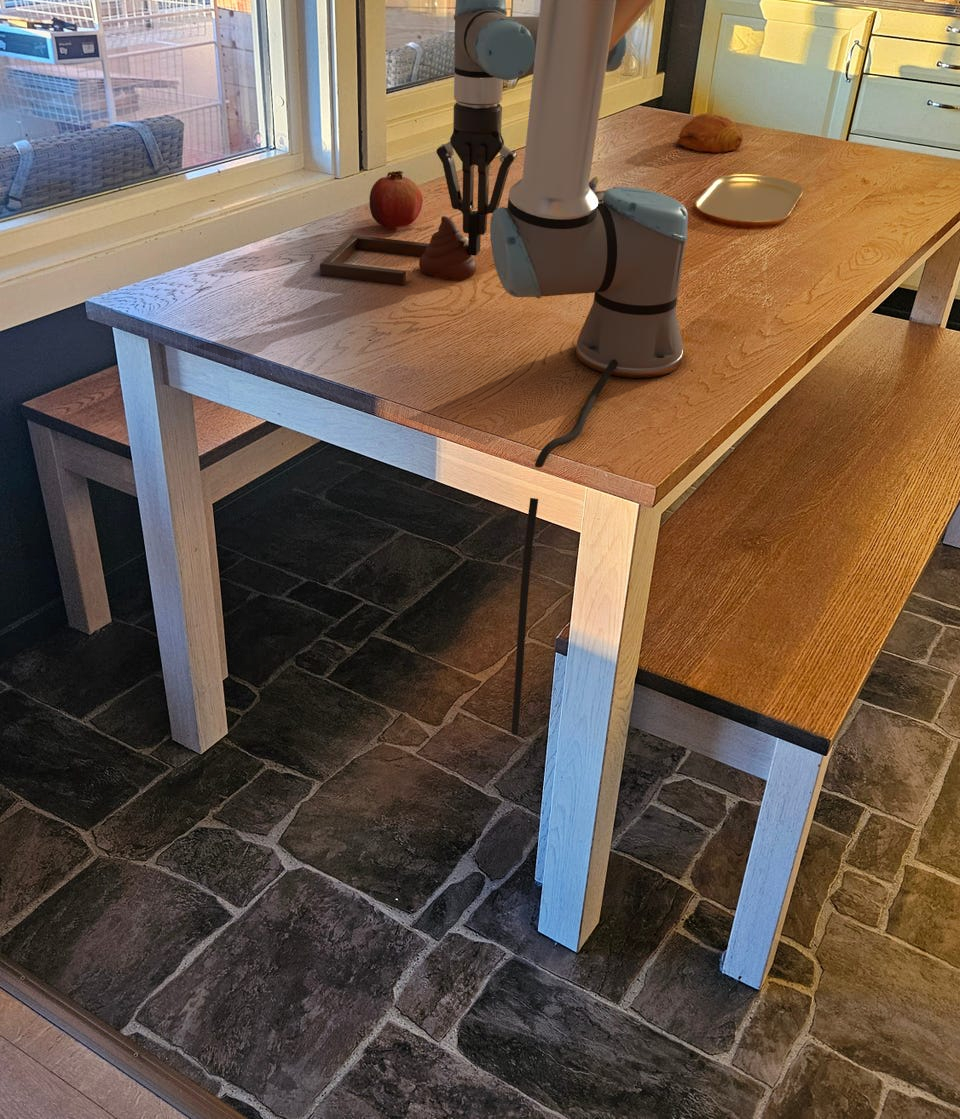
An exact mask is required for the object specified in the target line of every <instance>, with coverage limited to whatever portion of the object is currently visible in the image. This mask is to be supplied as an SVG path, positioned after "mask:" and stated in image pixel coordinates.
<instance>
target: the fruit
mask: <svg viewBox="0 0 960 1119" xmlns="http://www.w3.org/2000/svg"><path fill="white" fill-rule="evenodd" d="M404 173H405V172H404V171H401V170H398V171H388V173H387V174H386V176H383V177H380V178H379V179H378V180H376V181H375V182H374V184H373V185H372V187H371V189H370V192H369V211H370V214H371V217H372V218H373V219H374V221H375V222H376V223H377V224H379V225H380V226H381V227H385V228H403V227H407V226H408V227H409V225H412V224H413V223H415V221H416V220H417V219H418V217H419V215H420V213H421V211H422V207H423V202H424V200H423V199H424V198H423V194H422V192H421V189H420V188H419V187H418V186H417V184H416V183H415V182H414V181H413V180H411V179H410V178H408V177H407V176H406V177H405V176H403V174H404Z"/></svg>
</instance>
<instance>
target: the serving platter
mask: <svg viewBox="0 0 960 1119" xmlns="http://www.w3.org/2000/svg"><path fill="white" fill-rule="evenodd" d="M803 193H804V189H803V188H802V187H801V185H799V184H797V183H795V182H792V181H790V180H787V179H784V178H779V177H775V176H771V175H770V176H769V175H762V174H745V173H743V174H741V173H740V174H728V175H722V176H720V177H717V178H715V179H714V180H713V181H712V182H711V183H710V185H708V187H707V188H706V189H705V190H704V191H703V192H702V193H701V194H700V195H699V197H698V198H697V199H696V200H695V202H694V206H695V208H696V210H697V212H699V213H700V214H701V215H702V216H704V217H706V218H707V219H709V220H711V221H715V222H718V223H721V224H725V225H731V226H735V227H736V226H738V227H747V228H748V227H749V228H750V227H753V228H754V227H755V228H757V227H758V228H759V227H766V226H767V227H768V226H774V225H776V224H779V223H780V224H781V223H782V222H783V221H785V220H787V219H788V218H789V216H790V215H791V213H792V212H793V210H794V209H795V207H796V205H797V204H798V202H799V200H800V199H801V197H802V196H803Z"/></svg>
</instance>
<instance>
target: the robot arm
mask: <svg viewBox="0 0 960 1119" xmlns="http://www.w3.org/2000/svg"><path fill="white" fill-rule="evenodd" d="M654 2H655V0H540V5H539V14H538V16H535V15H534V16H529V15H528V16H527V15H526V16H507V15H508V11H507V0H455V6H454V15H453V20H454V63H453V64H454V65H453V66H454V70H453V71H454V72H453V77H454V78H453V100H454V101H455V103H454V105H453V122H452V123H453V124H452V126H453V128H452V129H453V131H452V134H451V136H450V138H449V141H448V142H447V143H444V144H443V143H442V144H441V145H440V146H439V147H437V149H436V156H438V158H439V160H440V162H441V163H442V168H443V171H444V172H443V173H444V176H445V182H446V185H447V190H448V196H449V199H450V204H451V208H452V209H453V210H458V211H460V212H461V213H462V232H463V233H464V234H468V235H467V236H468V237H467V238H468V255H471V256H475V257H477V256H478V254H479V253H480V252H481V242H482V241H481V239H482V238H481V237H482V236H484V235H485V234H486V233H487V229H488V214H491V216H490V221H489V222H490V223H489V235H490V236H489V237H490V246H491V251H492V258H493V262H494V266H495V270H496V274H497V277H498V280H499V281H500V284H501V286H502V288H503V289H504V290H505V292H506V293H507V294H508V295H510V296H512V297H514V298H536V299H541V298H542V297H554V296H566V295H567V296H568V295H582V294H594V295H593V302H592V305H591V308H590V309H589V312H588V313H587V316H586V318H585V321H584V323H583V325H582V327H581V329H580V332H579V334H578V337H577V341H576V351H575V352H576V357H577V359H578V360H579V361H580V362H581V363H582V364H584V365H585V366H587V367H588V368H590V369H592V370H594V371H597V372H600V373H602V374H601V376H600V378H599V379H598V380H597V383H596V384H595V386H594V387H593V389H592V390H591V392H590V394H589V396H587V397H588V398H587V400H586V401H585V403H584V405H583V408H581V411H580V413H579V415H578V418H577V421H576V423H575V425H574V427H573V428H572V429H571V431H570V432H568V433H567V434H565V435H562V436H558V437H556V438H554V439H552V440H551V441H549V442H548V443H547V444H545V446H544V447H543V448H542V450H541V451H540V452H539V454H538V456H537V458H536V461H535V463H534V466H535V468H542V467H544V465H545V462H546V460H547V459H548V457H549V456H550V454H551V452H553V450H555V448H556V449H557V448H558V447H560V446H563V445H566V444H569V443H570V442H572V441H574V440H575V439H576V438H577V437H578V436H579V435H580V433H581V432H582V430H583V428H584V427H585V424H586V422H587V418H588V417H589V415H590V412H591V410H592V408H593V406H594V404H595V403H596V400H597V399H598V397H599V394H600V393H601V392H602V390H603V389H604V387H605V385H606V383H607V382H608V380H609V378H610V377H611V376H616V377H620V378H621V377H622V378H632V379H633V378H634V379H635V378H636V379H643V378H654V377H660V376H664V375H667V374H670V373H672V372H674V371H676V370H677V369H678V368H679V367H681V366H680V365H681V364H682V360H683V354H684V353H683V352H684V350H683V348H684V346H683V340H682V335H681V330H680V324H679V319H678V314H677V305H678V296H679V290H680V285H681V284H680V283H681V276H682V271H683V264H684V256H685V250H686V243H687V242H688V225H689V223H688V222H689V214H688V211H687V209H686V207H685V206H684V205H683V203H682V202H681V201H679V200H677V199H676V198H673V197H671V196H669V195H666V194H664V193H660V192H657V191H653V190H649V189H645V188H639V187H631V186H613V187H610V188H607V189H606V190H604V191H605V193H604V195H603V196H602V200H603V201H602V202H603V203H598V199H597V196H596V195H595V194H594V192H593V191H592V190H591V189H590V188H589V182H590V181H591V172H592V166H593V159H594V153H595V145H596V139H597V132H598V127H599V126H598V125H599V120H600V119H599V118H600V114H601V113H600V111H601V105H602V99H603V92H604V85H605V79H606V78H605V77H606V73H611V72H615V71H616V70H618V69H619V68H620V67H621V66H622V63H623V61H624V57H625V56H626V51H627V42H628V41H627V40H628V38H627V33H628V32H629V31H630V29H631V28H632V27H633V26H634V25H635V24H636V23H637V21H638V20H639V19H640V18H641V17H642V16H643V14H644V13H645V12H646V11H647V9H649V7H650V6H651V5H653V3H654ZM524 75H532V80H531V81H532V82H531V89H530V90H531V91H530V92H531V93H530V101H529V110H528V118H527V119H528V120H527V128H526V140H525V148H524V156H523V157H524V159H523V166H522V167H523V169H522V178H521V179H520V180H519V181H517V182H516V183H514V184H513V185H512V186H511V187H510V188H509V191H508V200H507V207H505V206H500V204H501V200H502V195H503V192H504V189H505V185H506V182H507V178H508V175H509V172H510V168H511V165H512V164H513V162H514V161H515V160H516V159H517V157H518V153H517V152H516V151H515V150H511V149H509V148H508V147H507V146H506V145H505V141H504V138H503V136H502V120H503V119H502V118H503V117H502V116H503V106H502V105H501V104H500V103H501V101H503V92H504V91H503V90H504V81H513V80H514V81H515V80H517V79H518V78H521V77H522V76H524ZM455 153H456V155H457V157H458V158H459V159H460V161H461V162H462V163H461V164H462V165H461V170H462V191H461V187H460V182H459V178H458V173H457V168H456V164H455V158H454V157H453V156H454V154H455ZM498 154H500V156H499V161H500V163H501V164H500V166H499V168H498V171H497V175H496V179H495V183H494V186H493V189H492V194H491V197H490V200H489V196H490V195H489V193H490V192H489V191H490V169H491V163H493V161H494V160H495V158H496V157H497V156H498ZM476 166H477V175H478V176H477V210H473V209H474V207H475V205H474V190H475V189H474V188H475V186H474V184H475V167H476ZM538 505H539V498H534V497H530V498H529V506H528V512H527V513H528V514H527V520H526V528H525V539H524V549H523V556H522V558H523V559H522V569H521V580H520V594H519V605H518V606H519V608H518V620H517V621H518V624H517V638H516V641H517V642H516V656H515V673H514V690H513V704H512V705H513V706H512V716H511V717H512V719H511V730H510V731H511V732H510V733H511V735H512V736H517V735H519V731H520V730H519V729H520V717H521V703H522V690H523V689H522V688H523V677H524V676H523V675H524V662H525V661H524V658H525V644H526V643H525V642H526V630H527V629H526V628H527V616H528V615H527V613H528V600H529V588H530V577H531V576H530V575H531V565H532V556H533V546H534V537H535V529H536V520H537V512H538Z"/></svg>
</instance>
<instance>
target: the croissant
mask: <svg viewBox="0 0 960 1119" xmlns="http://www.w3.org/2000/svg"><path fill="white" fill-rule="evenodd" d="M677 141H678V144H679V146H682V147H683V148H686V149H691V150H694V151H697V152H706V153H707V152H708V153H714V154H715V153H718V154H720V153H726V152H733V151H734V150H738V149H739V148H740V147H741V145H742V144H743V134H742V131H741V128H740V126H739V125H738V123H736V122H733V121H732V120H731V119H730V118H728V117H725V116H722V115H716V114H710V113H707V112H706V113H702V114H701V113H700V114H698V115H696V116H695V117H693V118H692V119H691V120H688V121H686V123H685V124H684V125H683V126H682V127H681V130H680V132H679V135H678V140H677Z"/></svg>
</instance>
